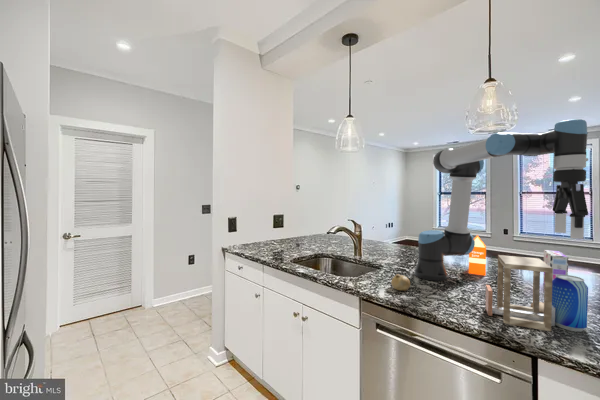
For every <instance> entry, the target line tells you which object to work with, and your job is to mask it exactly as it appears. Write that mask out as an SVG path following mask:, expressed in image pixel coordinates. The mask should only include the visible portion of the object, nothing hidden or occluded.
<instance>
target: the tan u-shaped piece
mask: <svg viewBox="0 0 600 400" xmlns="http://www.w3.org/2000/svg"><path fill="white" fill-rule="evenodd" d="M493 294H494V293H493V289H492V287H491V284H485V310H486V313H487V316H490V317H493V314H494V315H499V316H503V309H504V308H502V307H497V305H496V306H494V305H493V300H494V299H493V296H494V295H493ZM510 317H515V318H521V319H527V320H534V321H540V322H544V313H541V312H539V313H534V312H528V311H521V310H515V309H510ZM552 326H553V327H555V326H556V325H555V307H554V306H553V305H552V317H551V327H552Z"/></svg>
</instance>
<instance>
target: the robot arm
mask: <svg viewBox="0 0 600 400" xmlns="http://www.w3.org/2000/svg"><path fill="white" fill-rule="evenodd" d="M588 134H589V132H588V124H587V121H586V120H585V119H579V118H576V119H567V120H561V121H558V122H556V123H555V124H554V128H553V130H550V131H546V132H541V133H539V132H538V133H529V132H527V133H525V132H522V133H521V132H520V133H519V132H504V131H503V132H496V133H495V132H494V133H491V135H490V136H489V137H487V138H486V139H482V140H480V141H476V142H473V143H469V144H466V145H462V146H460V147H456V148H449V147H448V148H445V149H441V150H440V151H438V152H436V153H435V155H434V156H433V159H432V161H433V163H432V164H433V166H434V168H435V170H437V171H438V172H440V173H442V174H449V178H450V179H451V181H452V182H451V193H450V194H451V196H450V202H449V203H450V204H449V205H450V206H449V215H448V225H447V226H445V227H444V231H443V230H437V229H433V230H432V229H429V230H423V231H421V232H420V233H419V234H418V241H417V242H418V255H417V256H418V259H417V260H418V261H417V264H416V266H415V269H414V276H415V277H417V278H419V279H422V280H427V281H439V282H440V281H445V280H447V279H448V272H447V270H446V267H445V264H444V257H449V256H456V257H457V256H458V257H461V256H467V255H469V253H471V252H472V251H473V249H474V246H475V240H474V238H475V237H474V236H473V234H472V233H471V230H470V229H469V228H468V224H469V223H468V222H469V215H470V205H471V196H472V186H473V181H474V180H475V179H476V178H477V174H479V173H481V172H482V170H483V169H484V167H485V162H484V161H485V160H490V159H493V158H497V157H504V156H513V155H514V156H523V157H538V156H543V155H549V154H553V170H554V171H553V182H554V183H560V184H557V185H556V187H555V188H556V189H555V190H556V191H555V196H554V201H553V206H552V211H553V212H554V233H556V234H557V233H558V234H559V233H560V234H566V233H567V232H566V231H567V214H568V211H567V208H568V205H569V208H570V214H569V217H570V233H569V234H570V236H569V238H570V239H574V240H575V239H576V240H584V237H585V235H584V234H585V233H584V232H585V217H586V216H589V212H588V205H587V201H586V196H585V190H584V187H585V185H584V183H582V182H586V180H587V170H586V168H587V162H588V161H589V158H587V145H588ZM584 168H585V169H584ZM580 182H581V183H580Z"/></svg>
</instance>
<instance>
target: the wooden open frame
mask: <svg viewBox="0 0 600 400" xmlns="http://www.w3.org/2000/svg"><path fill="white" fill-rule="evenodd" d="M511 270H521V271H529V272H530V271H531V272H532V273H533V274H532V277H533V278H532V303H533V308H532V307H531V306H525V305H519V304H518V305H517V304H511V275H512V274H511ZM541 272H542V273H544V272H545V283H544V282H543V283H544V284H543V286H544V287H543V302H544V313H543V314H544V322H541V321H535V320H529V319H523V318H517V317H511V316H510V309H515V310H521V311H528V312H534V313H540V312H539V302H540V293H541V292H540V290H541V288H540V287H541ZM552 276H553V268H552V267H550V266H549V265H548V264H546V263H545V262H544V260H542V259H541V258H539V257H528V256H527V257H525V256H515V255H504V254H497V282H496V283H497V287H496V291H497V294H496V296H497V297H496V307H502V308H504V309H503V315H502V317H503V319H502V322H503V324H506V325H512V326H518V327H524V328H528V329H535V330H540V331H547V332H552V326H551V317H552Z"/></svg>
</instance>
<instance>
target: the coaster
mask: <svg viewBox="0 0 600 400" xmlns="http://www.w3.org/2000/svg"><path fill="white" fill-rule="evenodd" d="M530 307H532V308H533V302H531V303H530ZM539 313H541V314H544V301H543V302H542V301H539Z"/></svg>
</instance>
